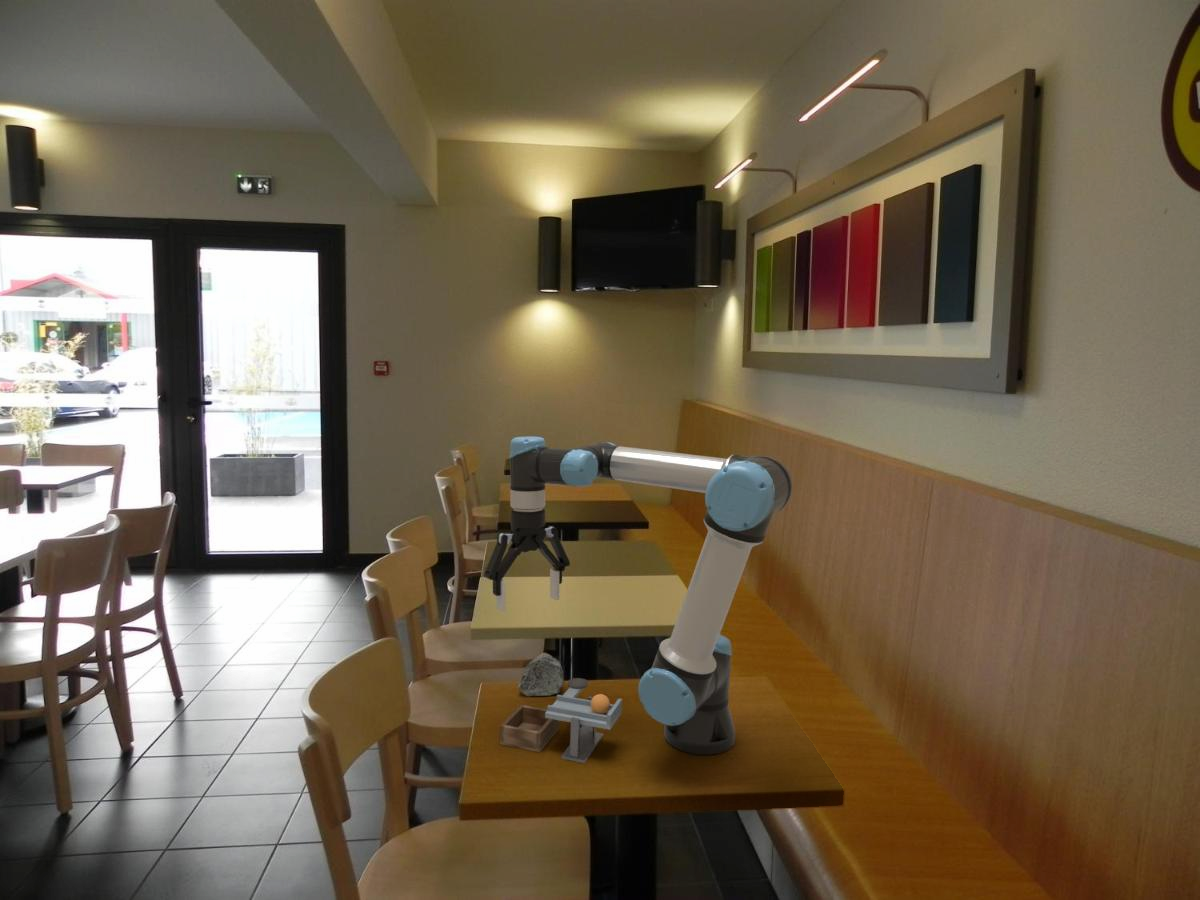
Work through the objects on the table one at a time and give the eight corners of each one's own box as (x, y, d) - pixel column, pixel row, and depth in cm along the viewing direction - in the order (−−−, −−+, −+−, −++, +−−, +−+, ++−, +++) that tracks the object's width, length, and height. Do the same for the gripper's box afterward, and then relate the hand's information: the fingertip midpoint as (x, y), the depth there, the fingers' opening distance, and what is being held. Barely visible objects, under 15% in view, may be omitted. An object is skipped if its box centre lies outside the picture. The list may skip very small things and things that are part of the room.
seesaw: (634, 693, 173) (634, 680, 173) (609, 730, 156) (609, 716, 156) (571, 683, 178) (572, 670, 177) (541, 718, 160) (541, 704, 160)
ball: (612, 710, 162) (612, 692, 162) (606, 719, 159) (606, 700, 158) (593, 707, 164) (594, 689, 163) (587, 716, 160) (588, 697, 159)
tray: (558, 729, 171) (559, 711, 170) (539, 752, 161) (540, 733, 160) (520, 721, 173) (521, 704, 173) (499, 744, 163) (500, 726, 163)
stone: (541, 658, 183) (552, 642, 193) (510, 681, 185) (522, 664, 195) (567, 691, 183) (576, 673, 193) (535, 713, 185) (545, 694, 195)
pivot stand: (603, 735, 168) (604, 697, 167) (584, 763, 157) (585, 722, 156) (581, 731, 170) (582, 694, 169) (561, 758, 158) (562, 718, 157)
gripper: (566, 500, 179) (566, 590, 182) (467, 511, 165) (468, 609, 167) (585, 505, 173) (585, 598, 175) (483, 517, 159) (485, 619, 161)
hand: (528, 604), depth 171 cm, fingers open, 13 cm apart
